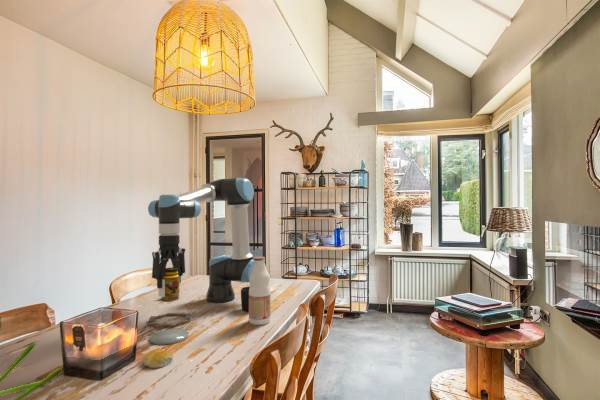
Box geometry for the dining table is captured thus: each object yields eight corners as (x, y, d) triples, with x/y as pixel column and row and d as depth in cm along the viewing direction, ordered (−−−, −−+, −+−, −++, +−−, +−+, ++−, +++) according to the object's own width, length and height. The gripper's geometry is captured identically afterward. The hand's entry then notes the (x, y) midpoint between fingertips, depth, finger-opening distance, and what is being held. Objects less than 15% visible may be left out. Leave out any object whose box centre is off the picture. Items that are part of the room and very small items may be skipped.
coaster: (189, 329, 142) (189, 327, 142) (187, 342, 129) (187, 340, 129) (153, 332, 139) (153, 330, 139) (146, 346, 125) (146, 344, 125)
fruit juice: (252, 326, 145) (252, 259, 145) (246, 320, 153) (245, 256, 153) (273, 323, 149) (273, 258, 149) (266, 317, 157) (265, 255, 158)
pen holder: (264, 308, 171) (264, 287, 171) (252, 313, 163) (252, 292, 163) (248, 305, 175) (248, 285, 175) (236, 310, 167) (236, 289, 167)
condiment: (173, 302, 129) (173, 270, 129) (153, 301, 131) (153, 269, 131) (183, 297, 136) (183, 266, 137) (164, 296, 138) (164, 266, 138)
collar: (191, 313, 163) (191, 309, 163) (189, 325, 146) (189, 321, 146) (152, 316, 159) (152, 312, 159) (145, 329, 142) (145, 325, 142)
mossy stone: (159, 355, 119) (159, 343, 119) (177, 361, 114) (177, 349, 114) (137, 364, 112) (137, 352, 112) (154, 371, 107) (154, 358, 107)
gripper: (182, 232, 144) (182, 288, 144) (140, 236, 128) (140, 298, 128) (195, 233, 140) (195, 290, 140) (153, 237, 124) (153, 301, 124)
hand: (169, 294), depth 134 cm, fingers closed on condiment, 6 cm apart
